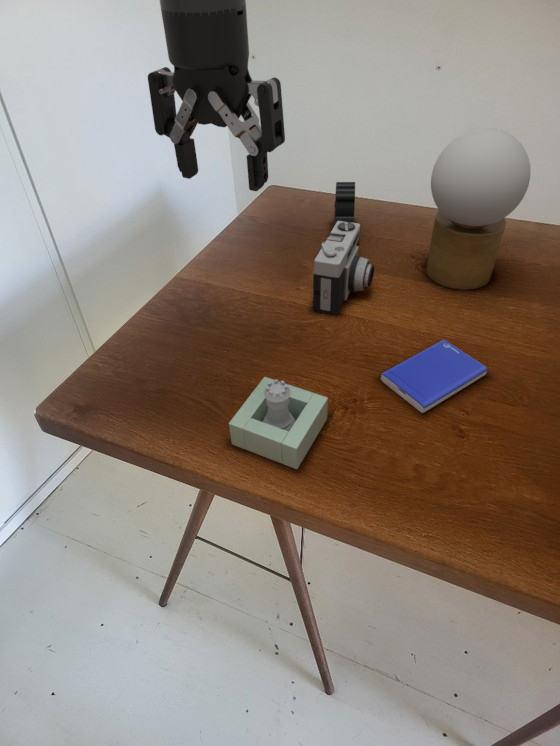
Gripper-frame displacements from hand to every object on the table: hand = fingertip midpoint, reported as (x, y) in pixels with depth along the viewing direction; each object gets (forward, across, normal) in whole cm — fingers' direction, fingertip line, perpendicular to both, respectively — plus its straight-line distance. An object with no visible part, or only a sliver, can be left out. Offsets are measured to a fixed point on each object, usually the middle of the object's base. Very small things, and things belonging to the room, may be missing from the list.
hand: (223, 182), depth 57 cm
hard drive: (+28, +25, +10) cm, 39 cm away
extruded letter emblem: (+28, -2, +43) cm, 52 cm away
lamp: (+28, +22, +37) cm, 52 cm away
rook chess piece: (+28, +10, -8) cm, 31 cm away
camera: (+28, +6, +25) cm, 38 cm away
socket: (+28, +10, -8) cm, 31 cm away
